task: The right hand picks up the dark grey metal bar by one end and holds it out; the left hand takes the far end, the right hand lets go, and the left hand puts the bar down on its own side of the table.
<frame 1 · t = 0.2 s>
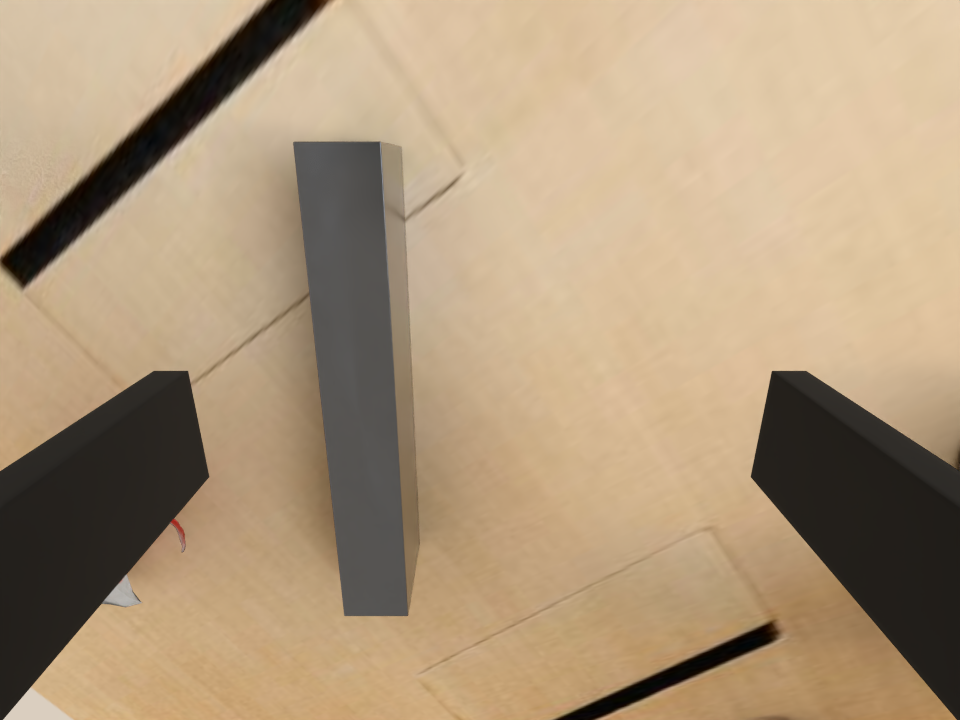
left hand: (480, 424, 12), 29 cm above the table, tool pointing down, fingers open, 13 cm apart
fish: (145, 511, 48), on the table
bar: (381, 370, 43), on the table
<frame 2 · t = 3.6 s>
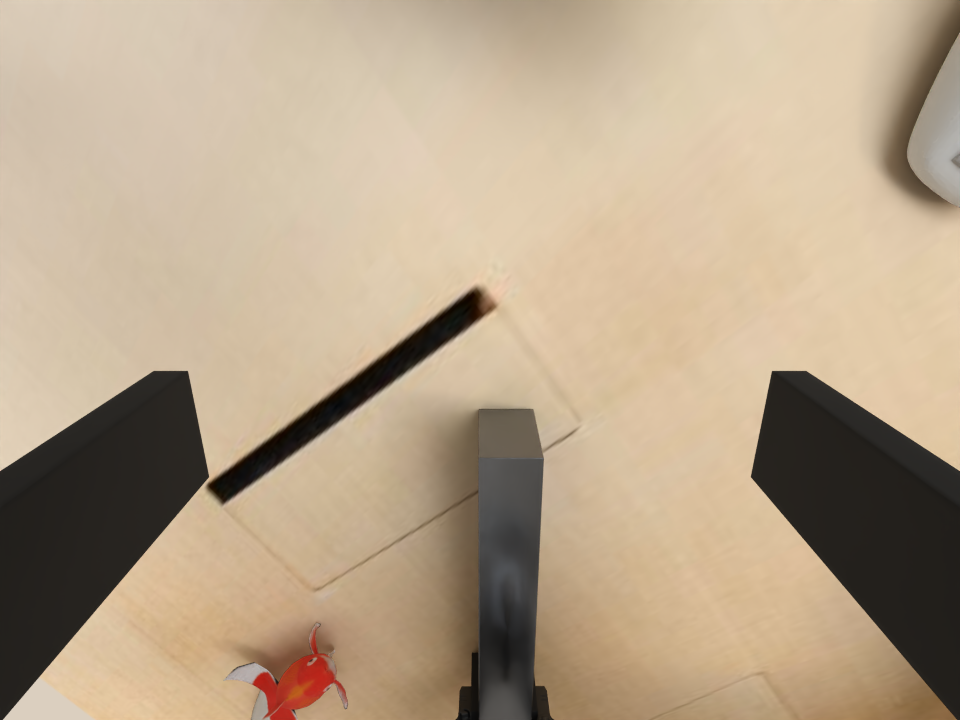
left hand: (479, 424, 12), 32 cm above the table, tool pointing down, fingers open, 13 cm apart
fish: (300, 661, 58), on the table
bar: (503, 561, 54), on the table, touching right hand
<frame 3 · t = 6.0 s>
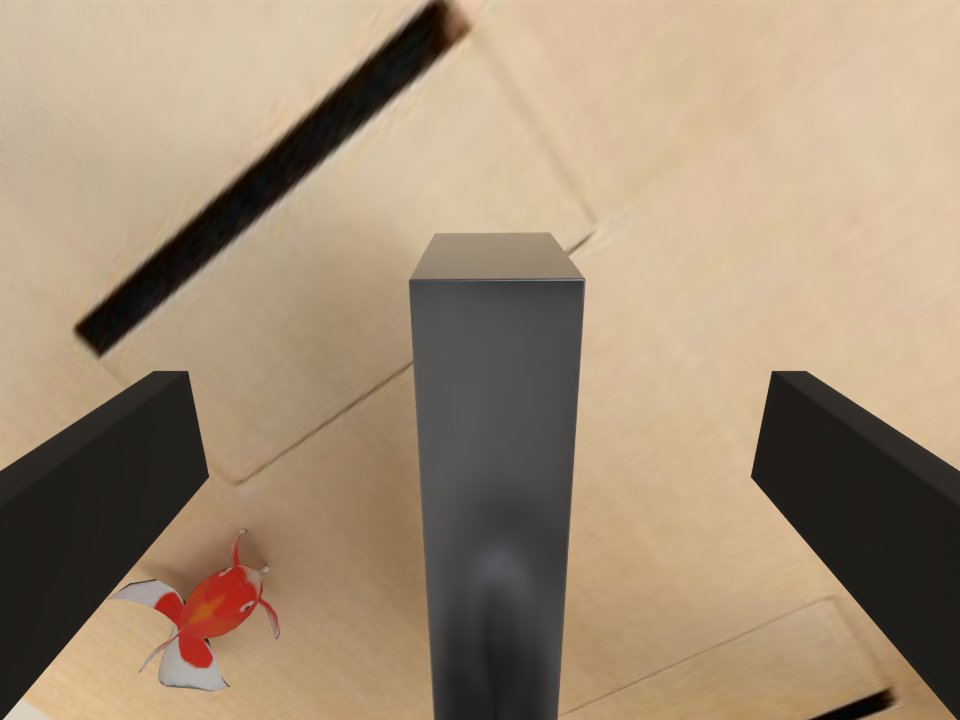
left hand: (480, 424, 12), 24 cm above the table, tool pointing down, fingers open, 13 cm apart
fish: (226, 583, 45), on the table
bar: (492, 553, 29), point 12 cm above the table, touching right hand
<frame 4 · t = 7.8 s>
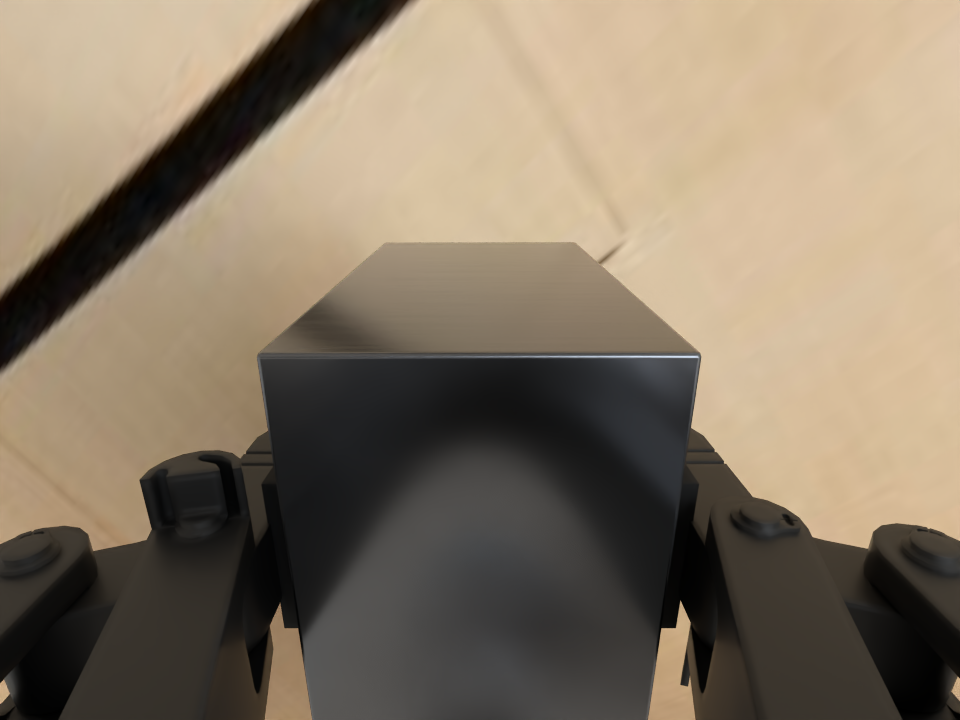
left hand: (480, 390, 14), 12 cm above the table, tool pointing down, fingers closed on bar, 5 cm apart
bar: (481, 714, 19), point 12 cm above the table, touching left hand, right hand
when the right hand's fingers open (12 cm above the table, at t = 8.6 s): bar stays where it is, held by the left hand.
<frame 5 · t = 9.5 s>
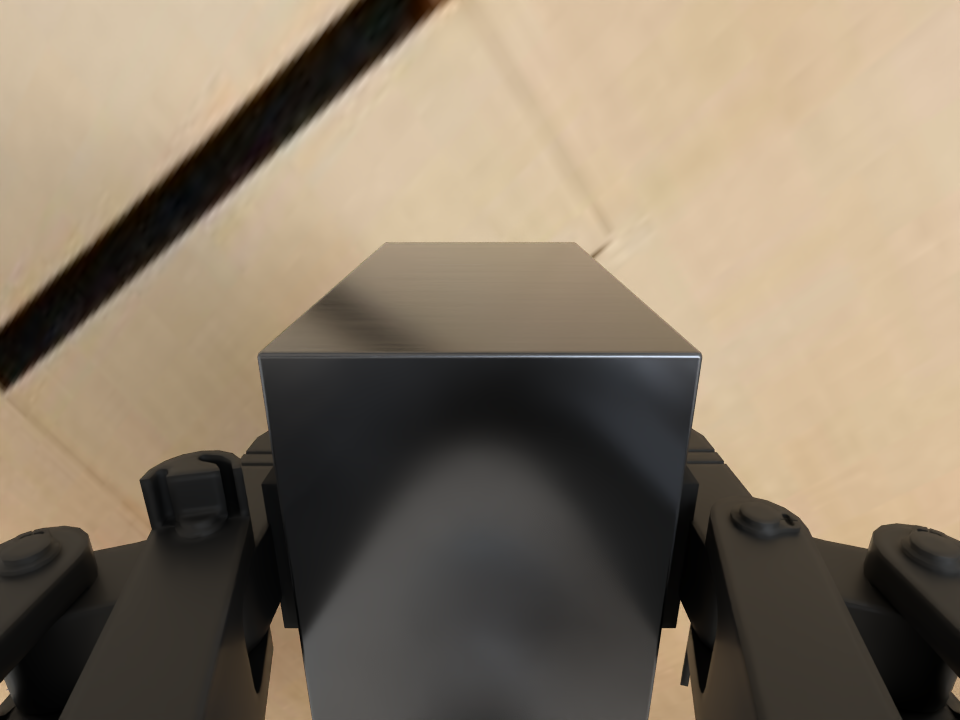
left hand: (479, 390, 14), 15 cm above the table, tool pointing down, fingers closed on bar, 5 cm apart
bar: (480, 714, 19), point 14 cm above the table, touching left hand
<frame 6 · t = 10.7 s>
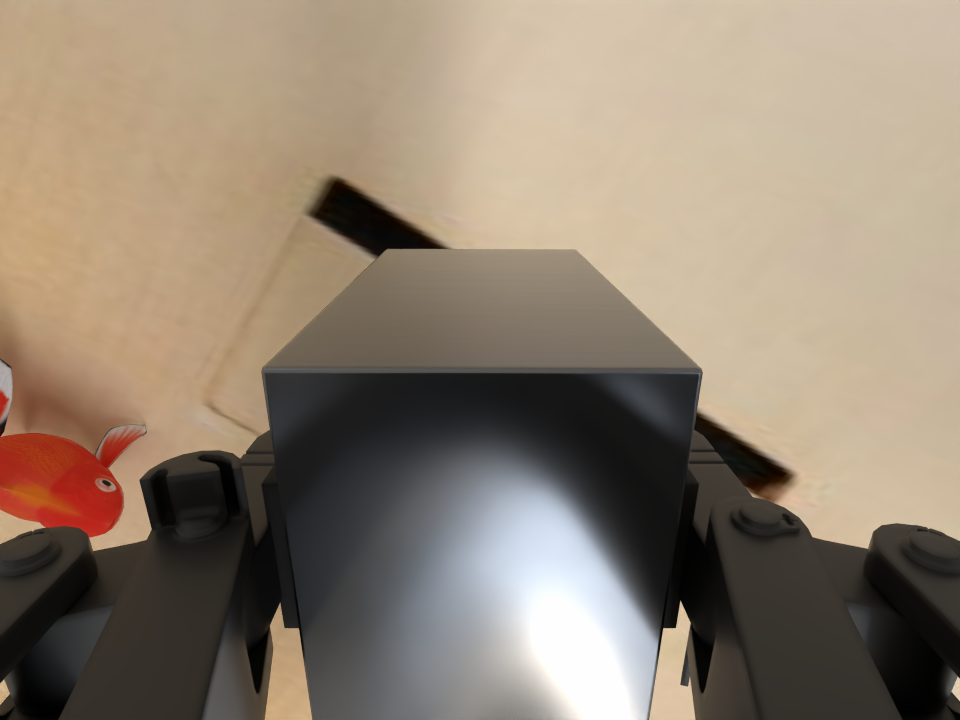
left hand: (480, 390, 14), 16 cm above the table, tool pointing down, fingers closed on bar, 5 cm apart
fish: (43, 419, 32), on the table
bar: (479, 717, 19), point 15 cm above the table, touching left hand
when the left hand's fingers open (2 cm above the table, at t = 13.7 s): bar drops 1 cm, on the table.
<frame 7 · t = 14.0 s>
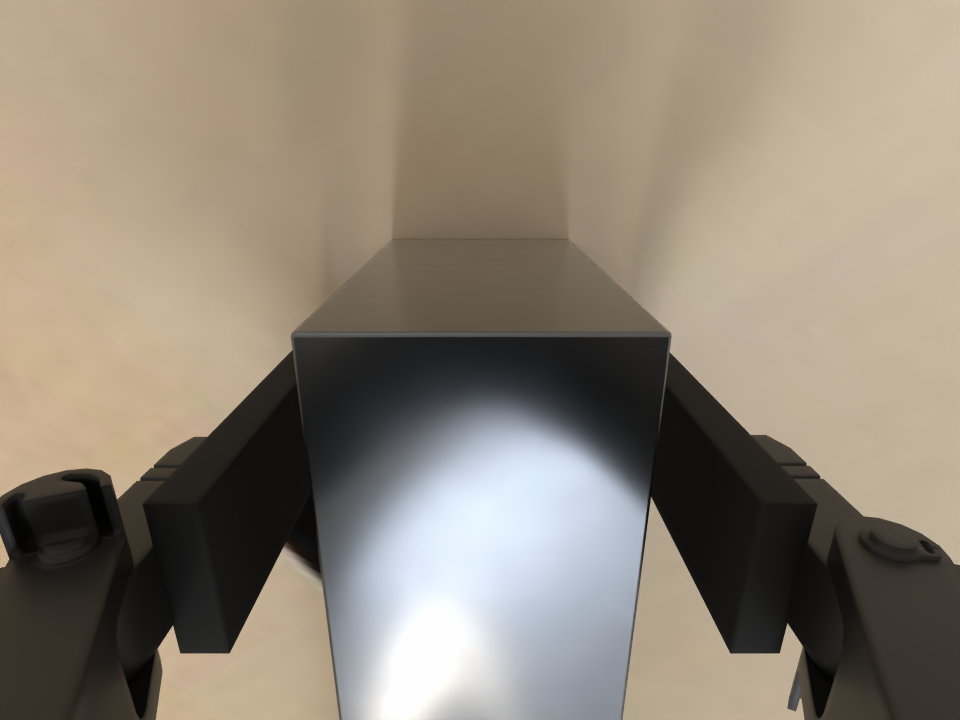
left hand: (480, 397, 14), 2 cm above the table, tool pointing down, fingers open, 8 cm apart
bar: (480, 688, 20), on the table
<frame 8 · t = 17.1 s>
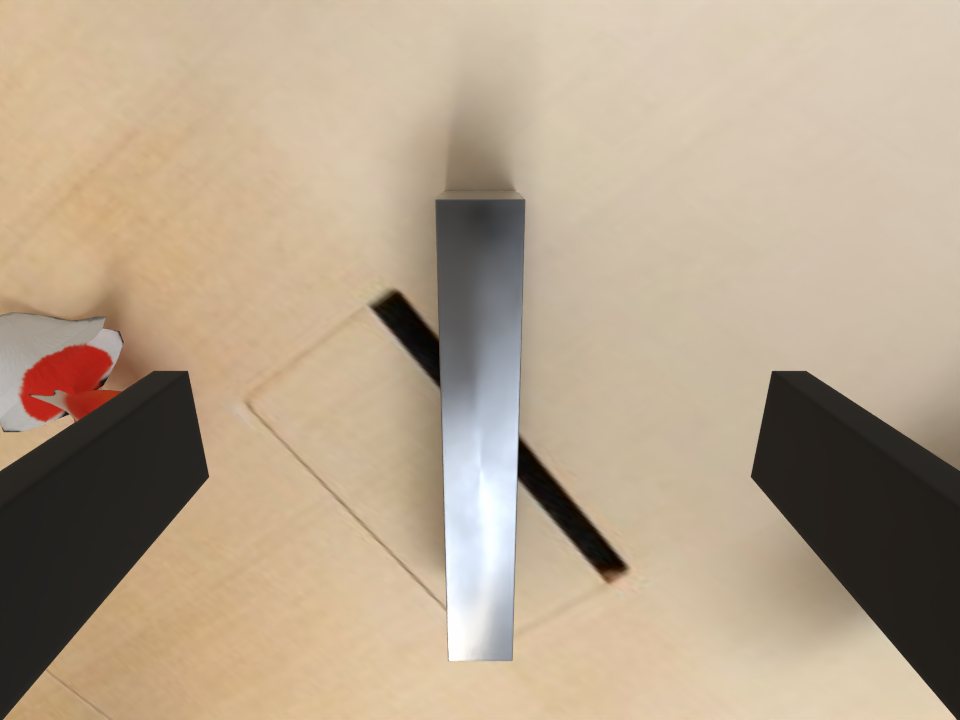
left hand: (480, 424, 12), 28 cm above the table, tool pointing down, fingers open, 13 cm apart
fish: (116, 374, 42), on the table
bar: (480, 411, 43), on the table
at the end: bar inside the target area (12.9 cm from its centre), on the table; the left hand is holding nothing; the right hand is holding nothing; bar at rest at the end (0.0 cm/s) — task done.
